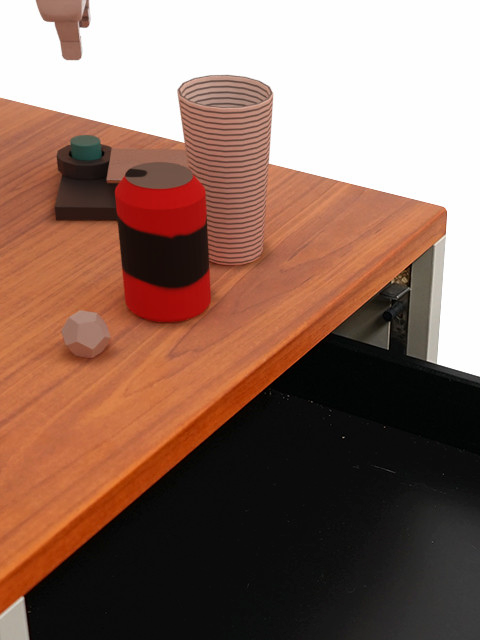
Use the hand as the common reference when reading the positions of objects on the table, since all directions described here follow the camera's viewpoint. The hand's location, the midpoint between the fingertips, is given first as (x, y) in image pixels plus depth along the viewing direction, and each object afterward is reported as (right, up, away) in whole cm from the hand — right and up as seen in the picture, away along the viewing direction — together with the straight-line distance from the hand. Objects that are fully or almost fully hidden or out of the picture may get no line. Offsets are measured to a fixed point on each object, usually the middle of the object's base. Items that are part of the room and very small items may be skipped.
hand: (77, 41), depth 135 cm
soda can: (+11, -28, -10) cm, 32 cm away
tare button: (-1, -9, +8) cm, 12 cm away
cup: (+15, -21, -1) cm, 26 cm away
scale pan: (+6, -11, +6) cm, 13 cm away
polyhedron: (+6, -33, -17) cm, 38 cm away
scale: (+4, -13, +7) cm, 15 cm away
